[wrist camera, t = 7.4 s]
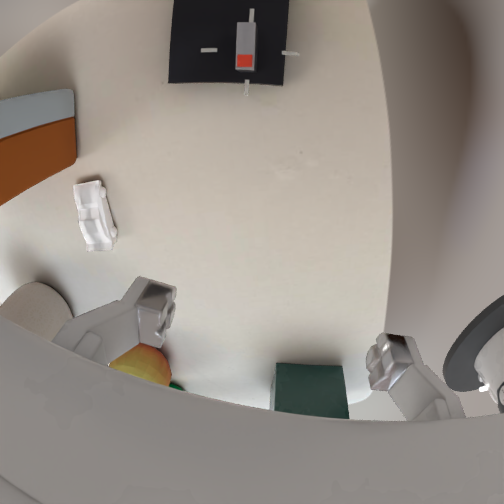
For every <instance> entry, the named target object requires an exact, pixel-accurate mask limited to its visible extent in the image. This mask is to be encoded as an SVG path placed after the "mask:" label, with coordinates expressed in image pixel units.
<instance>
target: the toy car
mask: <svg viewBox="0 0 504 504" xmlns="http://www.w3.org/2000/svg"><path fill="white" fill-rule="evenodd" d="M73 190H74V200H75V202H76V206H77V211H78V223H79V226H80V229H81V232H82V234H83V236H84V238H85V241H86V244H87V251H103V250H112V249H113V246H114V244H115V243H116V242H117V237H116V235H117V229H116V227H114V224H113V221H112V217H111V213H110V210H109V206H108V202H107V199H106V189H105V188H104V187H102V186H101V181H99V180H96V181H91V182H87V183H82V184H77V185H73Z"/></svg>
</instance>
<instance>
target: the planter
mask: <svg viewBox="0 0 504 504" xmlns="http://www.w3.org/2000/svg"><path fill="white" fill-rule="evenodd" d="M0 315H1V316H3V317H4V318H6V319H8V320H10V321H12V322H13V323H15V324H17V325H19V326H21V327H23V328H24V329H26V330H28V331H30V332H32V333H34V334H36V335H38V336H40V337H42V338H44V339H46V340H48V341H50V342H51V341H52V340H53V338H54V337H55V335H56V334H57V333H58V331H59V330H60V329H61V327H62V326H63V325H64V323H65V322H66V321H67V320H70V319H72V318H73V317H72V314H71V311H70V309H69V307H68V305H67V303H66V302H65V300H64V299H63V298H62V297H61V296H60V294H59V293H57V292H56V291H55V290H54V289H53V288H51V287H49V286H47V285H45V284H43V283H39V282H31V283H27V284H25V285H23V286H21V287H19V288H18V289H17V290H16V291H14V292H13V293H12V294H11V295H10V296H9V297H8V298H7V299H6V300H5V302H4V303H3V304H2V305H1V306H0Z"/></svg>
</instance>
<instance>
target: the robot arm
mask: <svg viewBox="0 0 504 504" xmlns="http://www.w3.org/2000/svg"><path fill="white" fill-rule="evenodd" d="M176 291H177V288H176V287H175V286H172V285H168V284H165V283H162V282H158V281H155V280H151V279H148V278H145V277H141V276H139V277H137V278H136V279H135V281H134V282H133V283H132V285H131V286H130V288H129V289H128V291H127V292H126V294H125V295H124V296H123V298H122V299H121V301H118V300H116V301H114V302H111V303H109V304H106V305H104V306H101V307H99V308H97V309H94V310H92V311H89V312H87V313H84V314H82V315H79V316H77V317H75V318H72V319H70V320H67V321H66V322H65V323H64V325H63V326H62V327H61V329H60V330H59V331H58V333H57V334H56V335H55V337H54V338H53V340H52V341H51V342H50V341H48V340H46V339H44V338H42V337H40V336H38V335H36V334H34V333H32V332H30V331H28V330H26V329H24V328H23V327H21V326H19V325H17V324H15V323H13V322H12V321H10V320H8V319H6V318H4V317H3V316H1V315H0V504H504V328H502V329H501V330H500V331H498V332H497V333H496V334H495V335H494V336H493V337H492V338H491V339H490V340H489V341H488V342H487V343H486V344H485V345H484V346H483V348H482V349H481V350H480V352H479V354H478V355H477V357H476V360H475V363H474V368H475V370H476V371H477V372H478V379H479V381H480V382H482V381H483V383H484V384H485V386H483V387H480V388H479V389H480V392H482V391H485V390H488V391H489V393H490V395H491V397H492V398H493V400H494V402H495V403H498V408H499V411H500V414H493V415H487V416H479V417H470V418H466V416H465V413H464V410H463V408H462V405H461V402H460V399H459V397H458V396H457V395H456V394H455V393H454V392H453V391H452V390H451V389H450V388H449V387H448V386H447V385H446V384H445V383H444V382H443V381H442V380H441V379H440V378H439V377H438V376H437V375H436V374H435V373H434V372H433V371H432V370H431V369H430V368H429V367H428V366H427V365H424V364H423V361H422V358H421V355H420V353H419V350H418V348H417V345H416V342H415V340H414V339H413V338H412V337H409V336H400V335H393V334H387V333H381V334H380V335H379V336H378V337H377V339H376V342H377V344H375V345H373V346H372V347H371V348H370V349H369V351H368V353H367V356H366V368H367V369H368V370H369V372H370V375H369V377H368V378H369V383H370V388H371V390H380V391H388V393H389V395H390V396H391V398H392V399H393V401H394V402H395V404H396V405H397V407H398V408H399V409H400V411H401V412H402V414H403V415H404V416H405V418H406V420H407V421H370V420H351V419H337V418H326V417H316V416H307V415H299V414H292V413H285V412H278V411H272V410H266V409H260V408H255V407H250V406H245V405H240V404H235V403H230V402H225V401H221V400H217V399H212V398H208V397H204V396H200V395H196V394H192V393H189V392H185V391H181V390H178V389H174V388H171V387H168V386H164V385H161V384H158V383H154V382H151V381H148V380H145V379H142V378H139V377H136V376H133V375H130V374H128V373H125V372H122V371H119V370H116V369H114V368H111V367H108V364H109V363H110V362H112V361H113V360H115V359H116V358H118V357H119V356H121V355H122V354H124V353H125V352H127V351H129V350H130V349H132V348H133V347H135V346H136V345H138V344H139V342H140V343H143V344H147V345H150V346H154V347H157V348H161V346H162V344H163V342H164V339H165V337H166V329H168V328H170V326H171V323H172V320H173V317H174V312H175V303H174V299H175V297H176Z"/></svg>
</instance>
